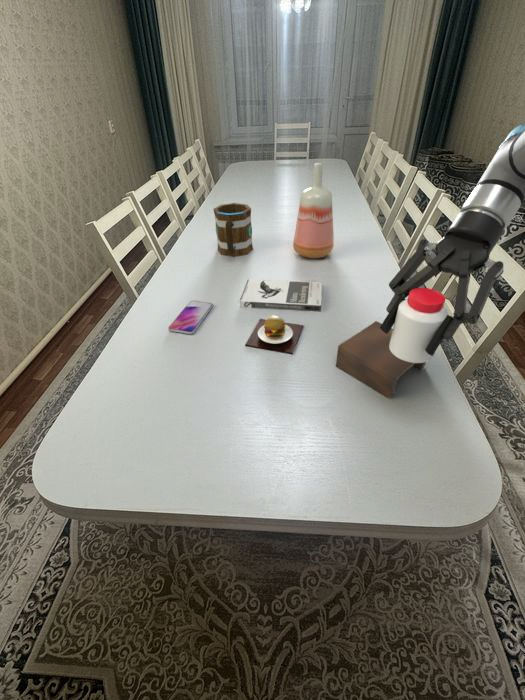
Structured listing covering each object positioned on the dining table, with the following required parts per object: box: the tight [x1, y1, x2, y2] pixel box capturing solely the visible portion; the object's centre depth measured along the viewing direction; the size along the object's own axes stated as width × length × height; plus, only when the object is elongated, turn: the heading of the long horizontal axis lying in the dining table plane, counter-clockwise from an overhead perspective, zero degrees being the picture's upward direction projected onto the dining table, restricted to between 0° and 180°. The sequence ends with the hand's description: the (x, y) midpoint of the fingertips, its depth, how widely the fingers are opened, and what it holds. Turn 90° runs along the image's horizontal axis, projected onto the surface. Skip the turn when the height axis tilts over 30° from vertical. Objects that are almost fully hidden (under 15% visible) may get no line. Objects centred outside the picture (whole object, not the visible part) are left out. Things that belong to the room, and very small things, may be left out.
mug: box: [212, 202, 254, 258], centre depth 129 cm, size 20×14×15 cm
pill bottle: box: [389, 287, 449, 363], centre depth 61 cm, size 8×8×11 cm
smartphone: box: [167, 300, 214, 335], centre depth 99 cm, size 7×1×15 cm
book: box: [239, 278, 323, 313], centre depth 106 cm, size 23×14×2 cm, turn 82°
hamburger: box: [244, 315, 304, 355], centre depth 90 cm, size 12×12×6 cm
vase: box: [292, 162, 335, 259], centre depth 122 cm, size 14×14×30 cm
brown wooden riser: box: [335, 320, 427, 399], centre depth 79 cm, size 14×14×6 cm
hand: (405, 341), depth 60 cm, fingers closed on pill bottle, 8 cm apart
